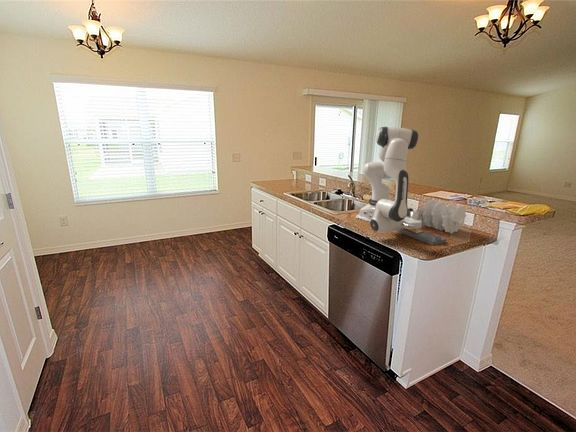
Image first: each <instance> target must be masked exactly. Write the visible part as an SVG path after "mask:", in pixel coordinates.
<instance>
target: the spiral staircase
mask: <svg viewBox="0 0 576 432" xmlns="http://www.w3.org/2000/svg"><path fill="white" fill-rule="evenodd" d="M415 211H416V212H418V218H417V220H422V227H424V226H427V227H428V228H431V227H432V229H436V230H439V231H440V232H443V231H444V230H445V231H444V232H445V233H449V234H450V235H452V234H454V233H457V232H458V230H459V228H462V227H463V224H465V219H466V218H467V213H466V211H467V209H466V208H465V205H458V206H457V207H456V206H455V203H453V204H452V203H449V204H448V205H447V203H445V202H444V200H441V201H438V202H437V201H436V199H430V200H429V201H427V203H426V204H425V206H424V205H423V206H421V207H420V208H417V209H416V210H415Z"/></svg>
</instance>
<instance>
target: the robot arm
mask: <svg viewBox="0 0 576 432" xmlns="http://www.w3.org/2000/svg"><path fill="white" fill-rule="evenodd" d="M375 135H376V137H375V140H376V143H377V145H378V146H380V148H379V152H378V157H379V158H378V159H380V161H371V162H366V163H365V164H364V165H363V167H362V174H363V176H364V178H366V180H368V182H369V183H370V185H371V198H370V199H367V202H368V204H366V205H365V206H363V207H361V208H360V210H359V214H356V215H355V218H356V219H358V218H359V220H361V219H362V220H361V221H365V222H369V224H370V225H369V226H370V228H371V229H372V231H373V232H376V233H388V232H390V231H397V230H400V229H402V228H403V227H407V228H410V229H421V228H422V227H423V224H422V220H415V219H412V218H409V216H407V213H408V208H409V207H408V198H409V197H408V196H409V195H408V194H409V178H410V177H409V173H408V171H407V159H408V152H409V151H408V150H412V149H414V148H416V146H417V144H418V142H419V133H418V131H417V130H414V129H409V128H405V127H393V126H391V127H389V126H381V127H380V128H379V130H378V131H377V132H376V134H375ZM385 179H386V180H393V181H394V184H395V195H394V196H395V199H394V200H391V199H390V191H391V190H390V187H389V186H388V185H387V184H385V183H383V182H382V181H383V180H385Z"/></svg>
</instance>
